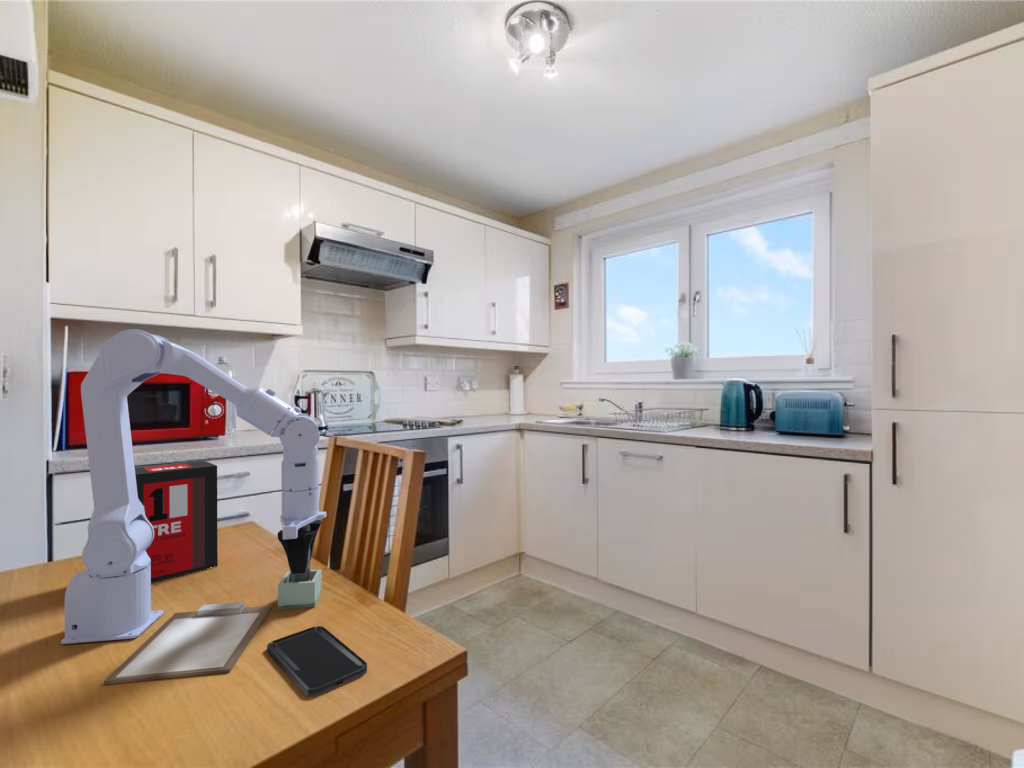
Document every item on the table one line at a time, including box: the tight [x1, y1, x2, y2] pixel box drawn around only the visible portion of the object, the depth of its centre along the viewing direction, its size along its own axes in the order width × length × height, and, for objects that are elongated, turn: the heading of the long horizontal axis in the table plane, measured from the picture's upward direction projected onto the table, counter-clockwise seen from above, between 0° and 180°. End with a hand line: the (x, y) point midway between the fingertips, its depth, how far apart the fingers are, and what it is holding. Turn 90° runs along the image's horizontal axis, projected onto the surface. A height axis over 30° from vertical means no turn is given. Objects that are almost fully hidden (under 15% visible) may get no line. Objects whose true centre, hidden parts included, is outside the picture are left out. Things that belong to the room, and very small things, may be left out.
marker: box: [293, 525, 311, 582], centre depth 83 cm, size 3×3×10 cm
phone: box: [266, 625, 368, 698], centre depth 66 cm, size 8×1×15 cm
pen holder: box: [277, 568, 323, 610], centre depth 83 cm, size 6×6×4 cm
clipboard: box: [103, 601, 272, 685], centre depth 70 cm, size 14×18×1 cm
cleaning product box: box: [135, 460, 219, 584], centre depth 95 cm, size 16×9×20 cm, turn 136°
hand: (300, 569), depth 83 cm, fingers closed on marker, 3 cm apart
